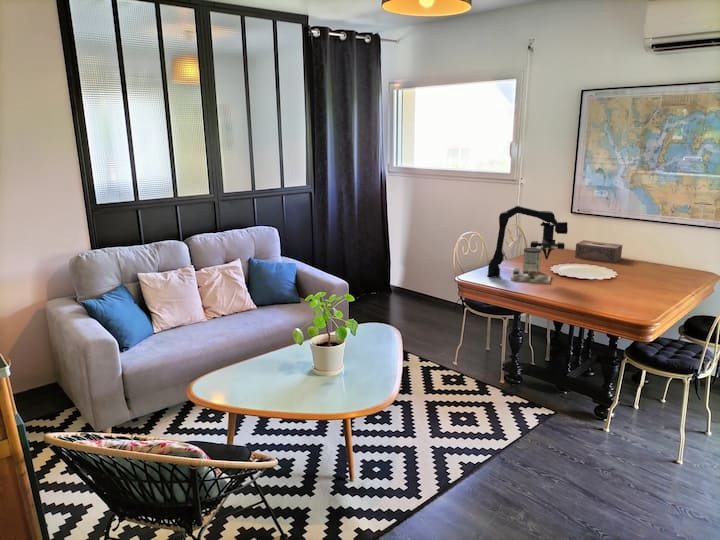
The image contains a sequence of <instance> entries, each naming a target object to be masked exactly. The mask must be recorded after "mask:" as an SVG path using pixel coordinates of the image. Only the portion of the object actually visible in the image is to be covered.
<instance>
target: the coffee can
mask: <svg viewBox="0 0 720 540" xmlns="http://www.w3.org/2000/svg"><path fill="white" fill-rule="evenodd" d="M541 253H542V249H541V248H537V247H536V248H532V247H525V248H524V249H523V260H522V261H523V262H522V272H523V271H528V270H529V268H535V269H538V272H537V274H538V273H540V270H541V269H540V267H541V255H542V254H541Z"/></svg>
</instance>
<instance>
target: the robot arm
mask: <svg viewBox="0 0 720 540" xmlns="http://www.w3.org/2000/svg"><path fill="white" fill-rule="evenodd" d="M517 214H520V215H525V216H528V217H529V216H530V217H533V218H537V219H539V220H541V221H542V222H541V223H540V225H539V226H540V227H543V230H542V231H543V232H542V241H541V242H539V241H538V240H537V241H536V240H532V241H530V247H529V248H537V247H540V249H541V251H542V252H543V254H544V258H545V260H548V258H549V256H550V254H551V252H552V251H554V250H555V248H557V249H559V250H564V249H565V247H566V246H565V243H564V242H557V243H556V239H554V232H555V233H556V234H557V235H559V234H561V235H568V230H569V229H568V222H567V221H563V222H561V221H558V220H557V219H556V216H555V213H554V212H553V211H550V210H537V209H533V208H528V207H524V206H520V205H515V206H514V207H512V208H510V209H507V211H506V210H504V211H501V212H500V213H499V216H498V224H499V225H498V226H499V227H498V229H499V230H498V233H497V241H496V247H495V251H494V254H493V257H492V258H491V259H490V260H489V262H488V267H487V276H486V277H490V278H491V277H492V278H499V276H500V275H501V268H500V265H501V264H502V263H503V261H504V259H505V258H504V256H505V251H503V247H504V240H505V235H506V234H505V233H506V228H507V226H508V222H509V220H510V218H512V217H514V216H515V215H517ZM547 249H548V250H547Z"/></svg>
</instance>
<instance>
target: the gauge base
mask: <svg viewBox="0 0 720 540" xmlns="http://www.w3.org/2000/svg"><path fill="white" fill-rule="evenodd" d="M551 277H552V276H551V275H547V274H537V276H533V277H532V276H528V274H523V272H522V273H520V268H516V267H515V268H514V269H513V272H512V274H511V277H510V281H517V282H526V283H527V282H530V283H540V284H541V283H543V284H551V279H552V278H551ZM531 278H532V279H531Z"/></svg>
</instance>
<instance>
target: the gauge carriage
mask: <svg viewBox="0 0 720 540" xmlns="http://www.w3.org/2000/svg"><path fill="white" fill-rule="evenodd" d="M537 272H538V269H535V268H529V270H528V271H523V270H522V273H523V274H528V276H532V277H533V276H537V275H538V273H539V272H538V273H537ZM531 279H532V278H531Z"/></svg>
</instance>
